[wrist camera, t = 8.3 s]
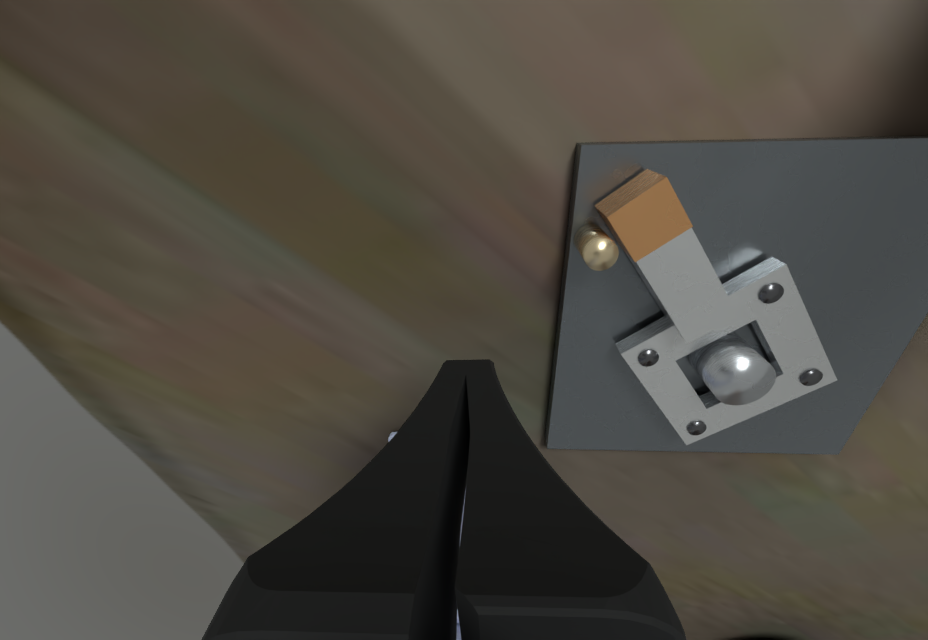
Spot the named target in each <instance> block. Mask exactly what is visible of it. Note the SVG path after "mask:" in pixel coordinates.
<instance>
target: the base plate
mask: <svg viewBox="0 0 928 640" xmlns="http://www.w3.org/2000/svg"><path fill="white" fill-rule="evenodd" d="M646 169H649V170H651V171H654V172H656V173H659V174H661V175H664V176H666V177H667V178H668V180H669V182H670V184H671V186H672V188H673V189H674V191H675V193H676V195H677V197H678V199H679V201H680V203H681V204H682V206H683V208H684V210H685V212H686V214H687V216H688V218H689V220H690V221H691V223H692V225H693V227H692V229H693V231H694V233H695V235H696V237H697V238H698V240H699V242H700V244H701V246H702V248H703V250H704V252H705V254H706V255H707V257H708V259H709V261H710V263H711V265H712V267H713V269H714V270H715V272H716V274H717V276H718V278H719V280H720V282H721V284H723V283H725V282H727V281H729V280H731V279H732V278H734V277H736V276H738V275H740V274H741V273H743V272H745V271H747V270H749V269H750V268H752V267H754V266H756V265H758V264H759V263H761V262H763V261H765V260H767V259H768V258H770V257H774V258H775V259H777V260H779V261H781V262H783V263H785V264H786V265H787V267H788V269H789V271H790V274H791V276H792V278H793V281H794V283H795V285H796V287H797V290H798V292H799V294H800V296H801V299H802V301H803V303H804V306H805V308H806V310H807V312H808V315H809V317H810V319H811V321H812V324H813V326H814V328H815V330H816V333H817V335H818V337H819V340H820V342H821V344H822V346H823V349H824V351H825V353H826V355H827V358H828V360H829V362H830V365H831V367H832V369H833V371H834V374H835V376H836V378H837V381H835V382H832V383H830V384H828V385H825V386H823V387H821V388H819V389H816V390H814V391H812V392H809V393H807V394H805V395H802V396H800V397H798V398H795V399H793V400H791V401H788V402H786V403H784V404H781V405H779V406H777V407H774V408H772V409H770V410H767V411H765V412H763V413H761V414H758V415H756V416H754V417H751V418H749V419H747V420H744V421H742V422H740V423H737V424H735V425H733V426H730V427H728V428H726V429H723V430H721V431H719V432H716V433H714V434H712V435H709V436H707V437H705V438H703V439H700V440H698V441H696V442H693V443H691V444H689V445H686V444H685V443H684V441H683V440H682V438H681V437H680V436H679V434H678V433H677V431H676V430H675V429H674V427H673V426H672V425H671V423H670V422H669V420H668V419H667V418H666V416H665V415H664V413H663V412H662V411H661V409H660V408H659V407H658V405H657V404H656V402H655V401H654V400H653V398H652V397H651V395H650V394H649V393H648V391H647V390H646V388H645V387H644V386H643V384H642V383H641V382H640V380H639V379H638V377H637V376H636V375H635V373H634V372H633V370H632V369H631V368H630V366H629V365H628V364H627V362H626V361H625V359H624V358H623V357H622V355H621V354H620V352H619V350H618V348H617V346H616V343H617V342H619V341H621V340H623V339H624V338H626V337H628V336H630V335H632V334H633V333H635V332H637V331H639V330H641V329H642V328H644V327H646V326H648V325H650V324H651V323H653V322H655V321H657V320H659V319H660V318H662V317H664V316H665V315H664V313H663V312H662V310H661V309H660V307H659V305H658V304H657V302H656V301H655V299H654V297H653V296H652V294H651V293H650V291H649V289H648V288H647V286H646V285H645V283H644V281H643V280H642V278H641V277H640V275H639V273H638V272H637V270H636V269H635V267H634V265H633V264H632V262H631V261H630V259H629V258H628V256H627V254H626V253H625V251H624V250H623V249H622V248H621V247H620V246H619V244H618V242H617V241H616V239H615V238H614V236H613V234H612V233H611V231H610V230H609V228H608V226H607V225H606V223H605V222H604V220H603V219H602V217H601V215H600V214H599V212H598V211H597V209H596V207H595V206H594V205H596V204H597V203H599V202H600V201H601V200H603V199H604V198H606V197H607V196H608V195H610V194H611V193H613V192H614V191H616V190H617V189H618V188H620V187H621V186H623V185H624V184H626V183H627V182H628V181H630V180H631V179H633V178H634V177H636V176H637V175H638V174H640V173H641V172H643V171H644V170H646ZM927 313H928V136H894V137H845V138H795V139H745V140H695V141H646V142H596V143H577V145H576V154H575V164H574V173H573V182H572V191H571V201H570V210H569V219H568V228H567V238H566V247H565V256H564V265H563V275H562V284H561V293H560V302H559V312H558V321H557V330H556V339H555V349H554V358H553V367H552V377H551V386H550V395H549V404H548V414H547V423H546V432H545V440H546V446H547V449H592V450H642V451H692V452H742V453H792V454H839V453H840V451H841V450H842V448H843V446H844V445H845V443H846V442H847V440H848V439H849V437H850V435H851V434H852V432H853V431H854V429H855V427H856V426H857V424H858V423H859V421H860V419H861V418H862V416H863V415H864V413H865V412H866V410H867V408H868V407H869V405H870V404H871V402H872V400H873V399H874V397H875V396H876V394H877V392H878V391H879V389H880V388H881V386H882V385H883V383H884V381H885V380H886V378H887V377H888V375H889V373H890V372H891V370H892V369H893V367H894V365H895V364H896V362H897V361H898V359H899V358H900V356H901V354H902V353H903V351H904V350H905V348H906V346H907V345H908V343H909V342H910V340H911V338H912V337H913V335H914V334H915V332H916V331H917V329H918V327H919V326H920V324H921V323H922V321H923V319H924V318H925V316H926V315H927ZM676 363H677V364H678V366H679V367H680V369H681V370H682V372H683V373H684V375H685V376H686V378H687V380H688V381H689V383H690V384H691V386H692V387H693V389H694V390H695V392H696V393H697V395H698V396H701V395H703V394H705V393H707V392H709V391H711V392H712V393H713V394H714V395H715V397H716V398H717V399H718V400H719V401H721V402H722V403H724V404H728V405H744V404H748V403H751V402H754V401H756V400H758V399H760V398H762V397H763V396H764V395H766V394H767V393H768V392H769V391H770V390H771V388H772V387H773V385H774V383H775V380H776V372H775V369H774V368H773V366H772V365H771V364H770V363H771V361H770V359H769V358H768V356H767V354H766V352H765V350H764V348H763V346H762V344H761V342H760V340H759V338H758V336H757V334H756V333H755V331H754V329H753V327H752V325H751V323H748V324H746V325H744V326H742V327H740V328H739V329H737V330H735V331H733V332H731V333H729V334H727V335H725V336H723V337H721V338H719V339H717V340H715V341H713V342H711V343H709V344H707V345H705V346H703V347H701V348H699V349H697V350H695V351H694V352H692V353H690V354H688V355H686V356H684V357H682V358H680V359H678V360H676Z"/></svg>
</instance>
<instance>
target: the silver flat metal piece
mask: <svg viewBox="0 0 928 640" xmlns="http://www.w3.org/2000/svg"><path fill="white" fill-rule="evenodd" d="M594 206H595V207H596V209H597V211H598V212H599V214H600V215H601V217H602V219H603V220H604V222H605V223H606V225H607V226H608V228H609V230H610V231H611V233H612V234H613V236H614V238H615V239H616V241H617V242H618V244H619V246H620V247H621V248H622V249H623V250H624V251H625V253H626V254H627V256H628V258H629V259H630V261H631V262H632V264H633V265H634V267H635V269H636V270H637V272H638V273H639V275H640V277H641V278H642V280H643V281H644V283H645V285H646V286H647V288H648V289H649V291H650V293H651V294H652V296H653V297H654V299H655V301H656V302H657V304H658V305H659V307H660V309H661V310H662V312H663V313H664V315H665V316H664V317H662V318H660V319H659V320H657V321H655V322H653V323H651V324H650V325H648V326H646V327H644V328H642V329H641V330H639V331H637V332H635V333H633V334H632V335H630V336H628V337H626V338H624V339H623V340H621V341H619V342H617V343H616V346H617V348H618V350H619V352H620V354H621V355H622V357H623V358H624V359H625V361H626V362H627V364H628V365H629V366H630V368H631V369H632V370H633V372H634V373H635V375H636V376H637V377H638V379H639V380H640V382H641V383H642V384H643V386H644V387H645V388H646V390H647V391H648V393H649V394H650V395H651V397H652V398H653V400H654V401H655V402H656V404H657V405H658V407H659V408H660V409H661V411H662V412H663V413H664V415H665V416H666V418H667V419H668V420H669V422H670V423H671V425H672V426H673V427H674V429H675V430H676V431H677V433H678V434H679V436H680V437H681V438H682V440H683V441H684V443H685V444H686V445H689V444H691V443H693V442H696V441H698V440H700V439H703V438H705V437H707V436H709V435H712V434H714V433H716V432H719V431H721V430H723V429H726V428H728V427H730V426H733V425H735V424H737V423H740V422H742V421H744V420H747V419H749V418H751V417H754V416H756V415H758V414H761V413H763V412H765V411H767V410H770V409H772V408H774V407H777V406H779V405H781V404H784V403H786V402H788V401H791V400H793V399H795V398H798V397H800V396H802V395H805V394H807V393H809V392H812V391H814V390H816V389H819V388H821V387H823V386H825V385H828V384H830V383H832V382H835V381H837V378H836V376H835V374H834V371H833V369H832V367H831V365H830V362H829V360H828V358H827V355H826V353H825V351H824V349H823V346H822V344H821V342H820V340H819V337H818V335H817V333H816V330H815V328H814V326H813V324H812V321H811V319H810V317H809V315H808V312H807V310H806V308H805V306H804V303H803V301H802V299H801V296H800V294H799V292H798V290H797V287H796V285H795V283H794V281H793V278H792V276H791V274H790V271H789V269H788V267H787V265H786V264H785V263H783V262H781V261H779V260H777V259H775V258H774V257H770V258H768V259H767V260H765V261H763V262H761V263H759V264H758V265H756V266H754V267H752V268H750V269H749V270H747V271H745V272H743V273H741V274H740V275H738V276H736V277H734V278H732V279H731V280H729V281H727V282H725V283H723V284H721V282H720V280H719V278H718V276H717V274H716V272H715V270H714V269H713V267H712V265H711V263H710V261H709V259H708V257H707V255H706V254H705V252H704V250H703V248H702V246H701V244H700V242H699V240H698V238H697V237H696V235H695V233H694V231H693V229H692V227H693V225H692V223H691V221H690V220H689V218H688V216H687V214H686V212H685V210H684V208H683V206H682V204H681V203H680V201H679V199H678V197H677V195H676V193H675V191H674V189H673V188H672V186H671V184H670V182H669V180H668V178H667V177H666V176H664V175H661V174H659V173H656V172H654V171H651V170H649V169H646V170H644V171H643V172H641V173H640V174H638V175H637V176H636V177H634V178H633V179H631V180H630V181H628V182H627V183H626V184H624V185H623V186H621V187H620V188H618V189H617V190H616V191H614V192H613V193H611V194H610V195H608V196H607V197H606V198H604V199H603V200H601V201H600V202H599V203H597V204H596V205H594ZM748 323H751V325H752V327H753V329H754V331H755V333H756V334H757V336H758V338H759V340H760V342H761V344H762V346H763V348H764V350H765V352H766V354H767V356H768V358H769V359H770V361H771V363H770V364H771V365H772V366H773V368H774V369H775V372H776V380H775V383H774V385H773V387H772V388H771V390H770V391H769V392H768V393H767V394H766V395H764V396H763V397H762V398H760V399H758V400H756V401H754V402H751V403H748V404H744V405H728V404H724V403H722V402H721V401H719V400H718V399H717V398H716V397H715V395H714V394H713V393H712V392H711V391H709V392H707V393H705V394H703V395H701V396H698V395H697V393H696V392H695V390H694V389H693V387H692V386H691V384H690V383H689V381H688V380H687V378H686V376H685V375H684V373H683V372H682V370H681V369H680V367H679V366H678V364H677V363H676V360H678V359H680V358H682V357H684V356H686V355H688V354H690V353H692V352H694V351H695V350H697V349H699V348H701V347H703V346H705V345H707V344H709V343H711V342H713V341H715V340H717V339H719V338H721V337H723V336H725V335H727V334H729V333H731V332H733V331H735V330H737V329H739V328H740V327H742V326H744V325H746V324H748Z"/></svg>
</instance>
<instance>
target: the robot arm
mask: <svg viewBox="0 0 928 640" xmlns="http://www.w3.org/2000/svg"><path fill="white" fill-rule="evenodd" d="M202 640H686V636H685V633H684V630H683V628H682V625H681V622H680V620H679V618H678V616H677V614H676V612H675V610H674V608H673V605H672V603H671V601H670V600H669V598H668V596H667V594H666V592H665V590H664V588H663V586H662V584H661V582H660V581H659V579H658V577H657V575H656V574H655V572H654V570H653V568H652V567H651V565H650V564H649V563H648V562H647V561H646V560H645V559H644V558H642V557H641V556H640V555H639V554H638V553H637V552H635V551H634V550H633V549H632V548H631V547H630V546H628V545H627V544H626V543H625V542H624V541H623V540H622V539H621V538H620V537H618V536H617V535H616V534H615V533H614V532H613V531H612V530H611V529H610V528H608V527H607V526H606V525H605V524H604V523H603V522H602V521H601V520H600V519H599V518H598V517H597V516H596V515H595V514H594V513H593V512H592V511H591V510H590V509H589V508H588V507H587V506H586V505H585V504H584V503H583V502H582V501H581V500H580V498H579V497H578V496H577V495H576V494H575V493H574V492H573V491H572V490H571V489H570V488H569V486H568V485H567V484H566V483H565V482H564V481H563V480H562V479H561V478H560V477H559V475H558V474H557V473H556V472H555V471H554V469H553V468H552V467H551V466H550V464H549V463H548V462H547V461H546V459H545V458H544V457H543V455H542V454H541V453H540V451H539V450H538V449H537V447H536V446H535V445H534V443H533V442H532V440H531V439H530V437H529V436H528V434H527V433H526V431H525V430H524V428H523V426H522V425H521V423H520V422H519V420H518V418H517V417H516V415H515V413H514V411H513V410H512V408H511V406H510V404H509V402H508V400H507V398H506V396H505V394H504V392H503V390H502V388H501V385H500V383H499V380H498V378H497V375H496V372H495V368H494V363H493V362H492V361H491V360H447V361H446V362H444V363H443V365H442V367H441V369H440V371H439V373H438V375H437V376H436V378H435V380H434V381H433V383H432V385H431V386H430V388H429V390H428V391H427V393H426V394H425V396H424V397H423V398H422V400H421V401H420V403H419V404H418V406H417V407H416V409H415V410H414V411H413V413H412V414H411V415H410V417H409V418H408V419H407V420H406V422H405V423H404V424H403V426H402V427H401V428H400V429H399V431H398V432H392V433H390V435H389V438H388V444H387V445H386V446H385V447H384V448H383V449H382V450H381V451H380V452H379V453H378V454H377V455H376V456H375V458H374V459H373V460H372V461H371V462H370V463H368V464H367V465H366V466H365V467H364V468H363V469H362V470H361V471H360V472H359V473H358V474H357V475H356V476H355V477H354V478H353V479H352V480H351V481H350V482H348V483H347V484H346V485H345V486H344V487H343V488H342V489H341V490H339V491H338V492H337V493H336V494H334V495H333V496H332V497H331V498H330V499H328V500H327V501H326V502H325V503H323V504H322V505H321V506H320V507H318V508H317V509H316V510H315V511H314V512H312V513H311V514H310V515H308V516H307V517H306V518H304V519H303V520H302V521H300V522H299V523H298V524H296V525H295V526H293V527H292V528H291V529H289V530H288V531H286V532H285V533H283V534H282V535H280V536H279V537H277V538H276V539H274V540H273V541H272V542H270V543H269V544H267V545H266V546H264V547H263V548H261V549H260V550H258V551H257V552H255V553H254V554H252V555H251V556H249V557H248V558H247V560H246V561H245V563H244V565H243V566H242V568H241V570H240V571H239V573H238V574H237V576H236V577H235V579H234V580H233V582H232V584H231V585H230V587H229V589H228V591H227V592H226V594H225V596H224V598H223V600H222V602H221V604H220V605H219V608H218V609H217V611H216V613H215V615H214V617H213V619H212V621H211V623H210V625H209V627H208V628H207V630H206V632H205V634H204V636H203V638H202Z"/></svg>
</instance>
